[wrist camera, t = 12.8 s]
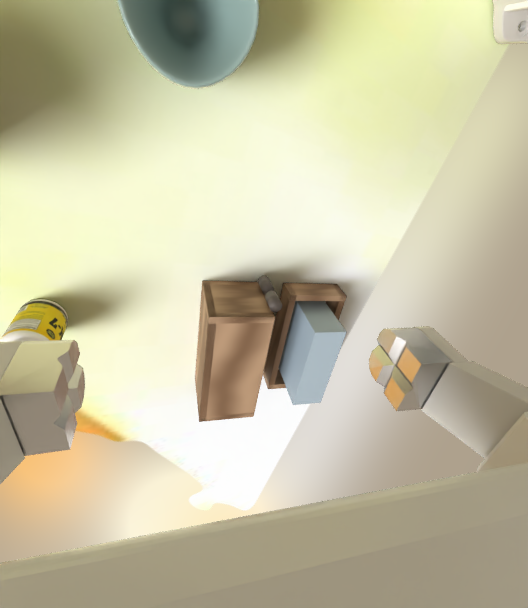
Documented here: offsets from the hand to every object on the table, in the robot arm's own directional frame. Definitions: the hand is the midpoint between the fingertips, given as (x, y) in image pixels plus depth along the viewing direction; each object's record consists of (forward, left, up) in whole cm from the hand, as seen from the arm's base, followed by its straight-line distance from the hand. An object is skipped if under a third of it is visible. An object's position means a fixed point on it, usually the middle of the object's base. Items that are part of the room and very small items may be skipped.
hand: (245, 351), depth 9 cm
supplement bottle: (+15, +18, -28) cm, 37 cm away
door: (-16, +21, -28) cm, 39 cm away
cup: (+1, -10, -28) cm, 30 cm away
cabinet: (-11, +21, -28) cm, 37 cm away
